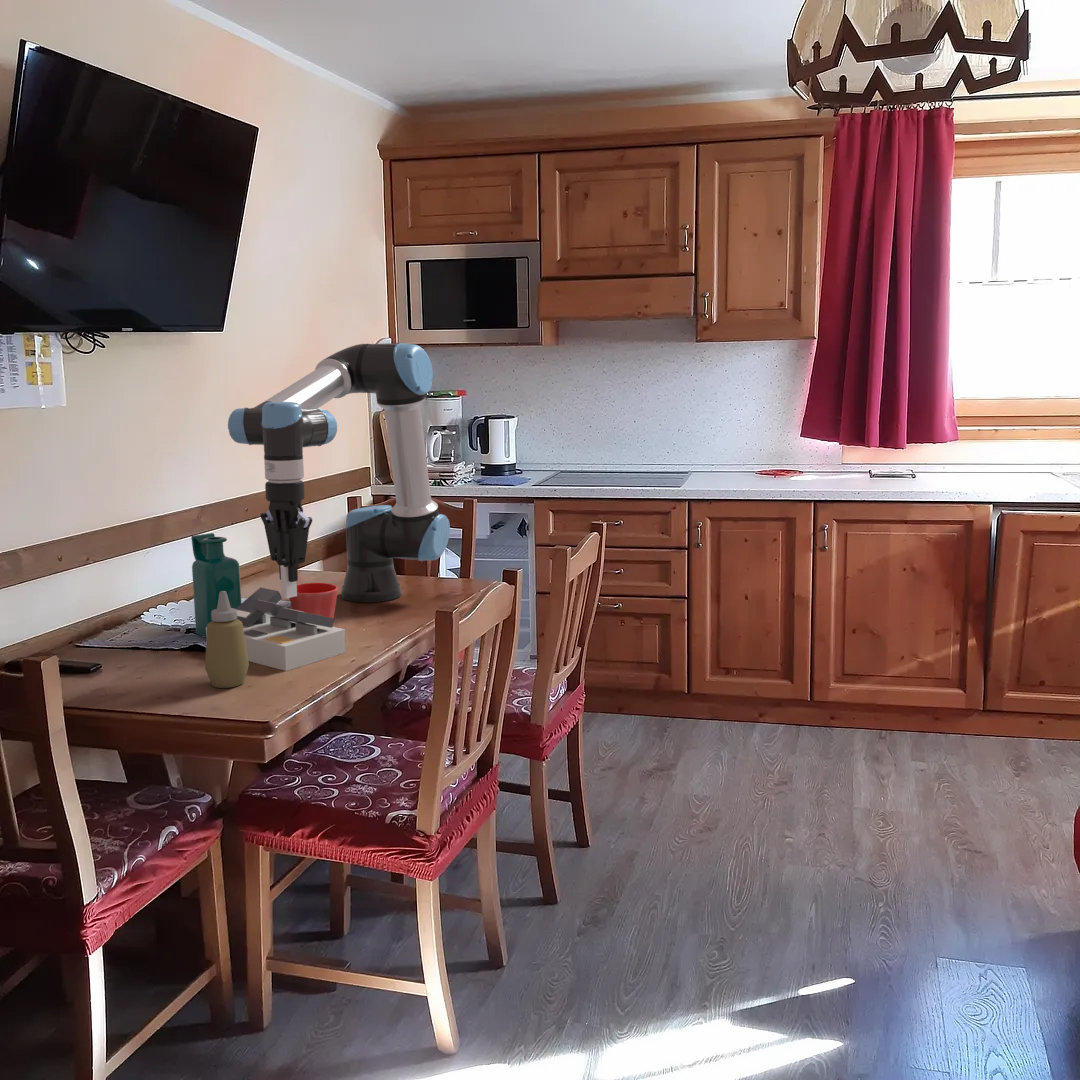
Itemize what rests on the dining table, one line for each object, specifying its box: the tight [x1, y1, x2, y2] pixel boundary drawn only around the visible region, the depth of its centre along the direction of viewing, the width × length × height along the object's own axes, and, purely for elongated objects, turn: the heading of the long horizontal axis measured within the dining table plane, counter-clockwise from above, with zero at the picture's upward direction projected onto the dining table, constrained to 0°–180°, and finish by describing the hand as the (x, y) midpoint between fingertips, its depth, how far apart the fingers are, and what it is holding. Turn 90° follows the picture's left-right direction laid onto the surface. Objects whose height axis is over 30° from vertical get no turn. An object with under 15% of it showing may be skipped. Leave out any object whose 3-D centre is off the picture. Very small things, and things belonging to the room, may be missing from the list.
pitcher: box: [190, 532, 243, 638], centre depth 235 cm, size 10×8×22 cm
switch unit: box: [205, 613, 347, 672], centre depth 222 cm, size 16×25×7 cm, turn 54°
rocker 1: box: [236, 587, 283, 627], centre depth 227 cm, size 10×6×2 cm, turn 143°
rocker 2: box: [252, 600, 303, 623], centre depth 223 cm, size 10×6×2 cm, turn 145°
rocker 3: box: [277, 607, 335, 628], centre depth 218 cm, size 10×6×2 cm, turn 145°
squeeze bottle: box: [204, 591, 250, 689], centre depth 200 cm, size 8×8×18 cm
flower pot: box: [289, 582, 339, 619], centre depth 240 cm, size 11×11×10 cm
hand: (289, 596), depth 214 cm, fingers closed
